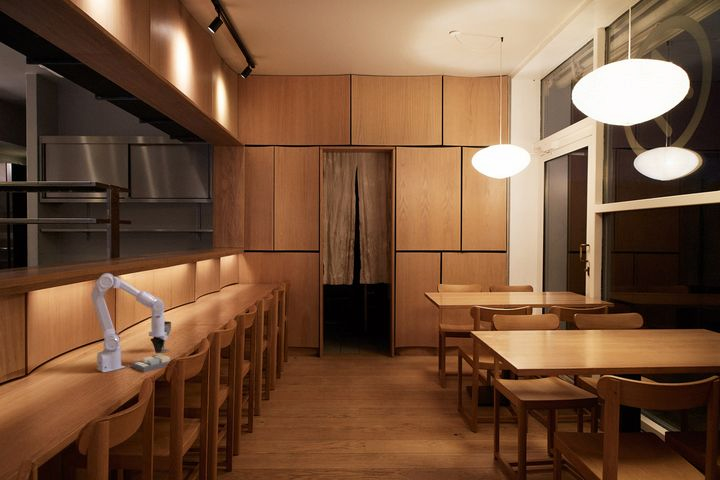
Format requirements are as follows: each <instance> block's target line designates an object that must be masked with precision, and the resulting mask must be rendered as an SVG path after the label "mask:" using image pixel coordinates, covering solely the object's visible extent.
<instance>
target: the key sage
mask: <svg viewBox="0 0 720 480" xmlns="http://www.w3.org/2000/svg"><path fill="white" fill-rule="evenodd" d="M163 356H165V355H164V354H163V353H157V354H155V355H151V357H153V358H156V359H158V357H163Z"/></svg>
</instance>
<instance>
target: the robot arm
mask: <svg viewBox="0 0 720 480" xmlns="http://www.w3.org/2000/svg"><path fill="white" fill-rule="evenodd" d="M94 283H95V284H94V286H93V289H92V291H91V294H90V296H91V297H90V298H91V300H92V303H93V307H94V309H95V312H96V315H97V319H98V322H99V325H100V328H101V330H102V335H103V339H104V342H103V350H102V351H99V352H97V354H96V370H97V371H99V372H101V373H107V372H112V371H116V370H121V369H124V368H126V366H124V365H122V347H121V346H120V341H121V336H120V335H119V334H118V333H117V332H116V329H115V327H114V325H113V324H114V323H113V321H112V319H111V314H110V311H109V308H108V306H107V305H108V304H107V301H106V299H105V294H106V293H107V291H108V290H109V289H111V288H113V289H121V290H123V291H124V292H126V293H128V294H129V295H132V296H133V297H135V300H136V302H138V303H140V304H141V305H143V306H144V307H146V308H148V309H149V308H150V309H151V316H150V319H151V320H150V322H151V328H150V329H151V331H148V336H149V337H151V338H150V341H151V343H152V345H153V348H154V349H153V350H154V351H155V353H156V354H162V353H161V351H162V348H163V344H164V345H165V341H167V340H169V339H168V338H169V335H168V336H167V335H166V334H167V332H164V321H165V311H164V310H165V303H164V301H163V300H162V299H160V298H159V297H158V296H154V295H152V294H151V293H150V291H149V290H139V289H138V288H136V287H134V286H133V285H131V284H130V283H128V282H126V281H125V280H124V279H121V278H120V277H118V276H114V275H113V273H112V274H111V273H109V272H105V273H102V275H101V276H100V277H99V278H98V279H97V280H96V282H94Z"/></svg>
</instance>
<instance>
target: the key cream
mask: <svg viewBox="0 0 720 480" xmlns="http://www.w3.org/2000/svg"><path fill="white" fill-rule="evenodd" d="M150 359H154V358H153V357H152V356H150V355H149V356H145V357H141V359H140V361H141V362H143V363H147V360H150Z"/></svg>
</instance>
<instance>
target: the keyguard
mask: <svg viewBox="0 0 720 480" xmlns="http://www.w3.org/2000/svg"><path fill="white" fill-rule="evenodd" d="M171 360H173V359H171V358H170V361H171ZM168 362H169V361H167V362H163V363H161V362H159V364H155V365H148V364H147V363H143V362H141V360H139V361H135V362H134V361H133V362H130V363H131V364H130V365H131V368H133V369H135V370H138V371H140V372H143V373H146V372H147V373H148V372H150V371H154V370H158V369H162V368H166V367H165V366H166V365H167V364H168Z"/></svg>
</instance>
